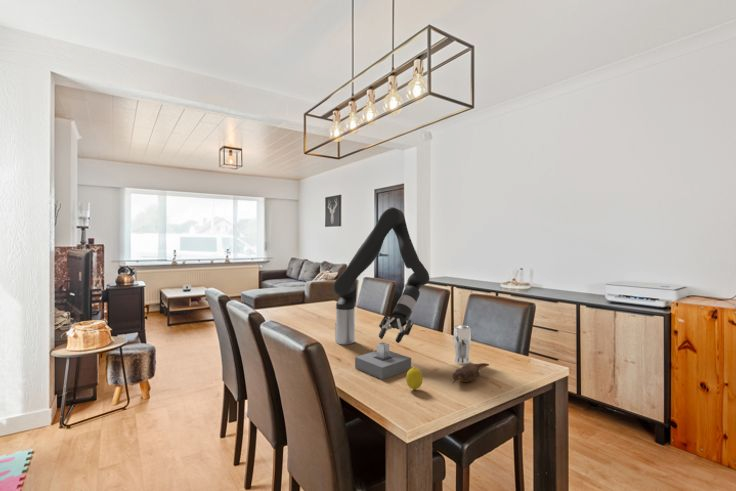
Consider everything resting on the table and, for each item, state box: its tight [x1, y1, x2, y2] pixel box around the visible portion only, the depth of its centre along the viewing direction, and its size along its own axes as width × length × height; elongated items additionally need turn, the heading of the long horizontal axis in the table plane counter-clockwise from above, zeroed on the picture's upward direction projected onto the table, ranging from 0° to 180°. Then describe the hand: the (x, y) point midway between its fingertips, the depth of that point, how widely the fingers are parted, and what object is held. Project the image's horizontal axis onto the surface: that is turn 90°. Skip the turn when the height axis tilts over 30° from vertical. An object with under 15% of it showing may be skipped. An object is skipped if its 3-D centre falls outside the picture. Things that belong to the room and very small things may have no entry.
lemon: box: [405, 366, 423, 391], centre depth 124 cm, size 6×6×8 cm
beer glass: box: [453, 324, 472, 366], centre depth 151 cm, size 7×7×15 cm
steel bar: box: [376, 341, 390, 361], centre depth 144 cm, size 4×4×10 cm
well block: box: [354, 350, 412, 381], centre depth 144 cm, size 16×16×4 cm
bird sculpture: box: [452, 362, 490, 384], centre depth 133 cm, size 7×25×5 cm, turn 134°
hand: (388, 339), depth 147 cm, fingers open, 8 cm apart
